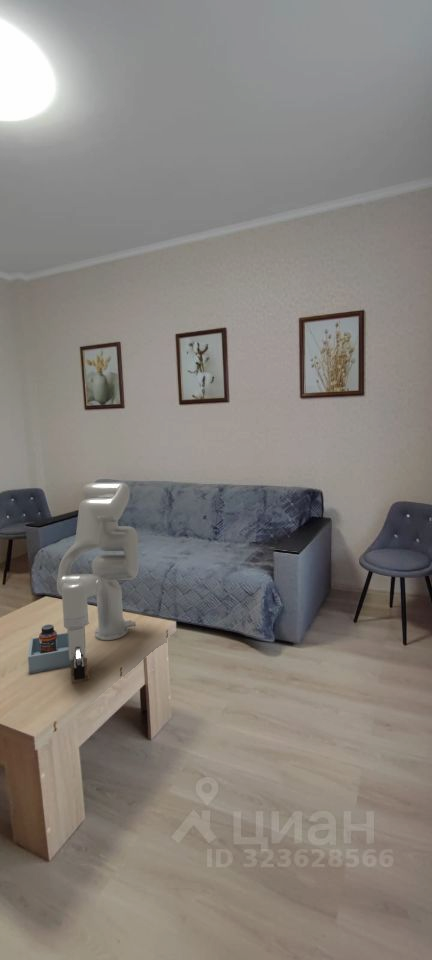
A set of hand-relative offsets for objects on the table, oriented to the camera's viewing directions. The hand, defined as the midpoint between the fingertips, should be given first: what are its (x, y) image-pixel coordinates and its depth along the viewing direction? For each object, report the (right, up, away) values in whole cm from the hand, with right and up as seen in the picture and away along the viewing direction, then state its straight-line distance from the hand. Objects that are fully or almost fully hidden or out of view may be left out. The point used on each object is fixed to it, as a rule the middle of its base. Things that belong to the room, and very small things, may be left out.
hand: (79, 671), depth 147 cm
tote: (-12, -1, +14) cm, 18 cm away
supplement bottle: (-14, -1, +13) cm, 19 cm away
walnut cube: (0, -2, +1) cm, 2 cm away
